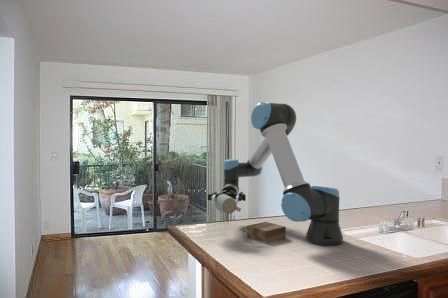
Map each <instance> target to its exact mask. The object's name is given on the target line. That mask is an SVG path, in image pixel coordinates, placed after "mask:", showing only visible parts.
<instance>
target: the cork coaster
mask: <svg viewBox="0 0 448 298" xmlns="http://www.w3.org/2000/svg"><path fill="white" fill-rule="evenodd" d="M247 226H248V225H243V226H240V231H242V232H247Z"/></svg>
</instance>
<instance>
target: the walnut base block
mask: <svg viewBox="0 0 448 298" xmlns="http://www.w3.org/2000/svg"><path fill="white" fill-rule="evenodd" d="M246 226H247V231H246V237H247V238H249V239H253V240H255V241H259V242H262V243H264V242H265V244H268V242H269V243H272V241H273V242H276V241H280V240H283V239H284V240H285V239H286V237H287V236H286V235H287V231H286V230H287V227H286V226H284V225H280V224H276V223H272V222H268V221H264V222H259V223H254V224H249V225H248V224H247V225H246Z"/></svg>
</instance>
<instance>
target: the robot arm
mask: <svg viewBox="0 0 448 298" xmlns="http://www.w3.org/2000/svg"><path fill="white" fill-rule="evenodd" d="M251 111H252V112H251V116H250V121H251V124H252V127H253V128H255V129H257V130H259V131H260V134H261V136H262V137H263V139H262V140H261V142H260V143H259V145H258V146H257V147H256V148H255V150H254V152H253V153H252V154H251V156H250V157H249V159H248V160H247V161H246V162H239V159H236V158H235V159H233V158H232V159H225V160H224V162H223V163H224V164H223V174H224V175H223V188H222V190H220V192H217V191H213V192H211V193H208V194H207V200H208V201H210V202H211V204H215V200H216V198H217V197H218V196H219V195H221V194H226V195H228V196H230V197H232V198H233V199H234V200H235V201H236V204H237V205H238V204H239V202H241V201H243V202H246V200H247V199H246V194H245V193H244V192H243V191H240V187H239V186H240V185H239V181H240V180H239V179H240V178H248V177H257V176H259V175H261V174H262V171H263V165H264V164H265V162H266V161H267V160H268V159H269V157H270V156H271V155H272V157H273V159H274V162H275V166H276V167H277V171H278V173H279V176H280V179H281V182H282V184H283V187H284V188H283V191H282V195H283V196H282V198H281V203H280V206H281V210H282V212H283V214H284V215H285V216H286V217H287V219H288V220H290V221H292V222H295V223H298V222H299V223H300V222H307V221H309V220H310V223H309V225H308V228H307V232H306V235H305V236H306V241H307V242H309V243H311V244H313V245H314V244H315V245H320V246H339V245H342V244H343V243H344V236H343V232H342V228H341V226H340V191H339V189H338V188H335V187H328V186H321V185H320V186H319V185H312V186H311V184H310V183H309V182H308V181H305V178H304V177H303V174H302V171H301V167H300V166H299V163H298V161H297V158H296V156H295V154H294V153H295V152H294V151H293V148H292V145H291V143H290V140H289V137H288V136H289V135H290V134H291V133H292V131H293V130H294V128H295V125H296V124H297V114H296V111H295V109H294V107H292V106H291V105H290V104H287V103H277V102H276V103H275V102H274V103H273V102H268V101H266V102H258V103H257V104H256V105H255V106H254V107H253V109H252V110H251Z"/></svg>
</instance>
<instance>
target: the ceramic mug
mask: <svg viewBox="0 0 448 298" xmlns="http://www.w3.org/2000/svg"><path fill="white" fill-rule="evenodd" d="M214 206H215V208H216V210H218V211H219V212H220V213H225V214H227V215H228V214H233V213H234V212H235V211H236V212H241V211H242V208H241V207H238V204H236V199H233V198H232V197H230V196H228V195H226V194H221V195H219V196H218V197H217V198H216V200H215V202H214Z"/></svg>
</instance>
